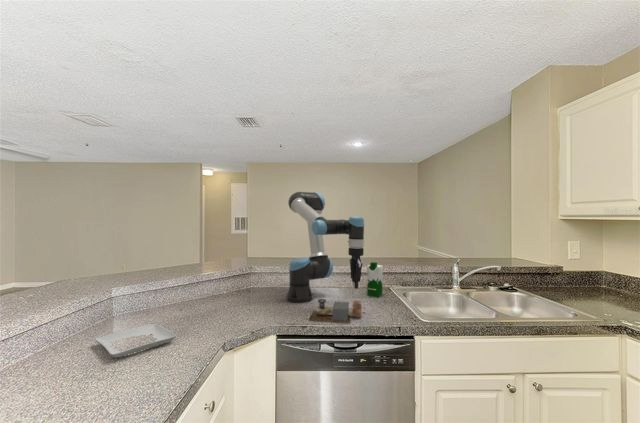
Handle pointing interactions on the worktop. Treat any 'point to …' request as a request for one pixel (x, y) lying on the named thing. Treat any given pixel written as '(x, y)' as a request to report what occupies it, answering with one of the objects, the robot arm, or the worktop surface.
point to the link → (352, 312)
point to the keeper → (338, 313)
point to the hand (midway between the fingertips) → (355, 294)
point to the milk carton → (374, 279)
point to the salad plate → (155, 329)
